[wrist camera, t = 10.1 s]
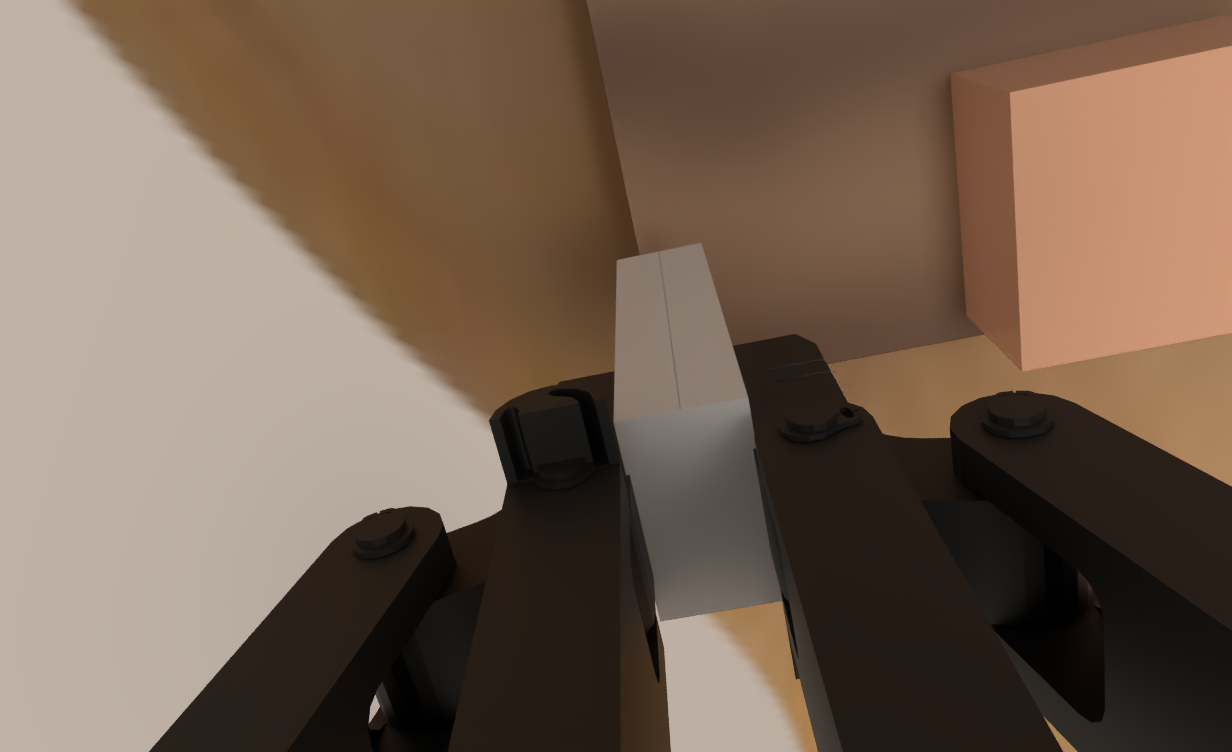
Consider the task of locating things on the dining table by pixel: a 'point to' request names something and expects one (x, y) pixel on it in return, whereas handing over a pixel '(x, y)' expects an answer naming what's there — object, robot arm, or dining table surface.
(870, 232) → the plate
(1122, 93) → the terracotta tile
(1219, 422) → the dining table surface
